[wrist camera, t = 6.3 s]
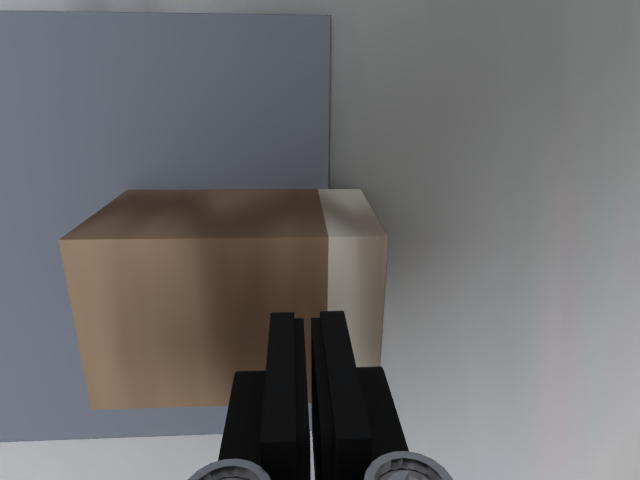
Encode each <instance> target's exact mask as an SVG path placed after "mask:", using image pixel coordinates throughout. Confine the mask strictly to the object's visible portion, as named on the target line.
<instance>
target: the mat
mask: <svg viewBox="0 0 640 480" xmlns="http://www.w3.org/2000/svg"><path fill="white" fill-rule="evenodd" d="M330 21H331V15H276V14H205V13H133V12H61V11H0V442H17V441H44V440H71V439H98V438H125V437H151V436H178V435H205V434H223V432H224V427H225V421H226V416H227V411H228V406H202V407H170V408H138V409H106V410H91V406H90V401H89V396H88V390H87V385H86V380H85V375H84V370H83V365H82V359H81V354H80V349H79V344H78V339H77V333H76V328H75V323H74V318H73V313H72V308H71V302H70V297H69V292H68V287H67V282H66V277H65V271H64V266H63V261H62V256H61V251H60V245H59V239H60V238H62V237H63V236H64V235H66V234H67V233H69V232H70V231H71V230H73V229H74V228H75V227H77V226H78V225H80V224H81V223H82V222H84V221H85V220H86V219H88V218H89V217H91V216H92V215H93V214H95V213H96V212H97V211H99V210H100V209H102V208H103V207H104V206H106V205H107V204H109V203H110V202H111V201H113V200H114V199H115V198H117V197H118V196H120V195H121V194H122V193H124V192H125V191H126V190H221V189H328V176H329V98H330ZM308 409H309V428H310V431H312V405H311V403H308Z"/></svg>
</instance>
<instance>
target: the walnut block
mask: <svg viewBox="0 0 640 480" xmlns="http://www.w3.org/2000/svg"><path fill="white" fill-rule="evenodd" d="M388 237H389V236H388V235H387V233H386V231H385V230H384V228H383V226H382V224H381V223H380V221H379V219H378V218H377V216H376V214H375V213H374V211H373V209H372V208H371V206H370V204H369V202H368V201H367V199H366V197H365V196H364V194H363V192H362V191H361V189H221V190H126V191H125V192H124V193H122V194H121V195H120V196H118V197H117V198H115V199H114V200H113V201H111V202H110V203H109V204H107V205H106V206H104V207H103V208H102V209H100V210H99V211H97V212H96V213H95V214H93V215H92V216H91V217H89V218H88V219H86V220H85V221H84V222H82V223H81V224H80V225H78V226H77V227H75V228H74V229H73V230H71V231H70V232H69V233H67V234H66V235H64V236H63V237H62V238H60V239H59V245H60V251H61V256H62V261H63V266H64V271H65V277H66V282H67V287H68V292H69V297H70V302H71V308H72V313H73V318H74V323H75V328H76V333H77V339H78V344H79V349H80V354H81V359H82V365H83V370H84V375H85V380H86V385H87V390H88V396H89V401H90V406H91V410H106V409H138V408H170V407H202V406H228V405H229V400H230V395H231V389H232V384H233V378H234V374H235V372H236V371H260V370H266V361H267V349H268V337H269V325H270V314H271V313H276V312H294V318H304V334H305V353H306V371H307V390H308V403H311V318H320V311H344V313H345V318H346V322H347V327H348V331H349V336H350V340H351V345H352V349H353V354H354V358H355V363H356V367H375V366H380V363H381V347H382V332H383V316H384V300H385V284H386V269H387V253H388Z"/></svg>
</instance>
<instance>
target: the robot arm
mask: <svg viewBox="0 0 640 480" xmlns="http://www.w3.org/2000/svg"><path fill="white" fill-rule="evenodd" d="M311 405H312V437H313V453H314V470H315V480H453V478H452V477H451V476H450V475H449V473H448V472H447V471H446V470H445V468H444V467H442V466H441V465H440V464H438V463H437V462H436V461H434V460H433V459H431V458H429V457H426V456H424V455H422V454H419V453H414V452H409V450H408V447H407V444H406V440H405V437H404V434H403V431H402V428H401V424H400V421H399V418H398V415H397V412H396V408H395V405H394V402H393V399H392V396H391V392H390V389H389V386H388V383H387V380H386V376H385V373H384V370H383V368H382V367H381V366H375V367H356V363H355V358H354V354H353V349H352V345H351V340H350V336H349V331H348V327H347V322H346V318H345V313H344V311H320V318H311ZM188 480H311V477H310V428H309V409H308V390H307V371H306V353H305V334H304V318H294V312H276V313H271V314H270V325H269V337H268V349H267V361H266V370H260V371H236V372H235V374H234V378H233V384H232V389H231V395H230V400H229V405H228V411H227V416H226V421H225V427H224V432H223V438H222V443H221V448H220V454H219V459H218V461H217V462H213V463H210V464H208V465H207V466H205V467H203V468H201V469H200V470H198V471H197V472H196V473H195V474H193V475H192V476H191V477H190V478H189V479H188Z"/></svg>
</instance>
